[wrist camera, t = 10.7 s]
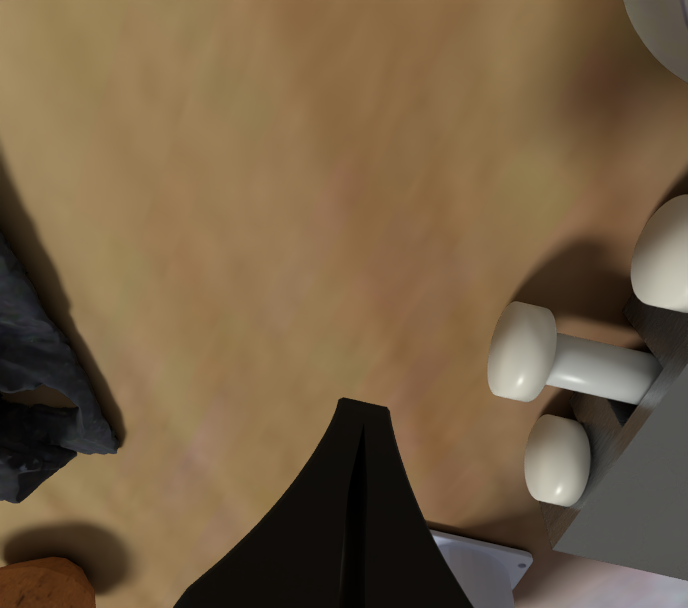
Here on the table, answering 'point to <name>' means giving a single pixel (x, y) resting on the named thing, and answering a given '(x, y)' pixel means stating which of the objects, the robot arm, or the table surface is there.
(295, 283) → the table surface
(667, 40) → the teacup
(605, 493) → the rack
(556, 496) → the knob
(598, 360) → the knob middle
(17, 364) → the black cloth
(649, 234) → the knob
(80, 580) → the potato
